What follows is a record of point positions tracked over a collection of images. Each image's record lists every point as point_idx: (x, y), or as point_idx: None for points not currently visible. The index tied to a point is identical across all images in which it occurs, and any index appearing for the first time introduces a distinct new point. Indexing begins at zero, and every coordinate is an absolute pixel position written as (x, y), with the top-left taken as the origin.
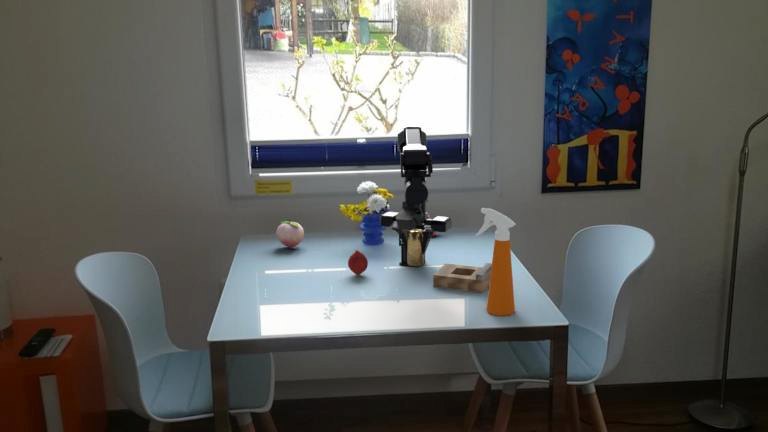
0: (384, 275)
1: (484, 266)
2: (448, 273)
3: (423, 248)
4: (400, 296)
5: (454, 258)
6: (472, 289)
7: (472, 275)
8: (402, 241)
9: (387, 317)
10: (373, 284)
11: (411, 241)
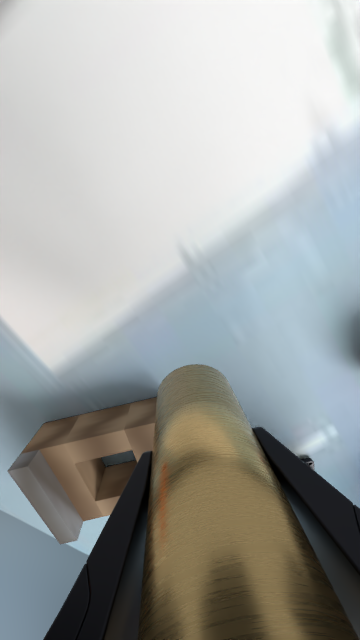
0: (313, 392)
1: (60, 521)
2: (137, 448)
3: (133, 489)
4: (201, 293)
5: None
6: (65, 422)
7: (72, 468)
8: (340, 496)
9: (128, 95)
10: (311, 328)
11: (229, 526)
